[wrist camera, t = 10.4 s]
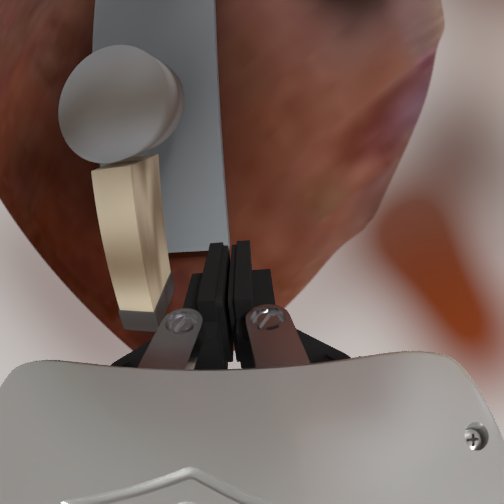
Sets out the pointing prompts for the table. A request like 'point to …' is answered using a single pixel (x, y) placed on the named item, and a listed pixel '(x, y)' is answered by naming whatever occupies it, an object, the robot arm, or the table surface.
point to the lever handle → (126, 168)
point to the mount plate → (194, 113)
